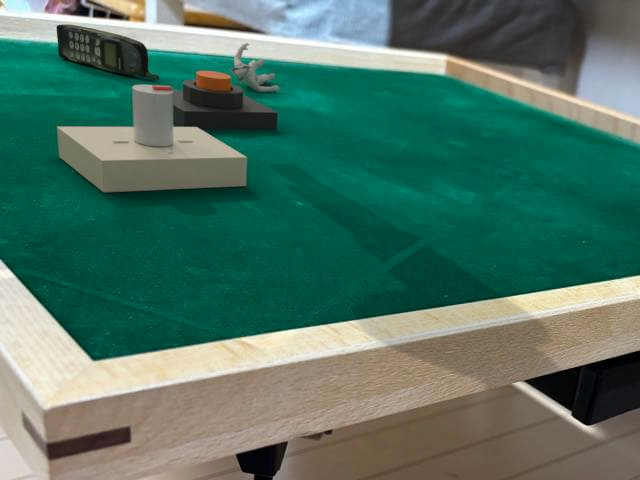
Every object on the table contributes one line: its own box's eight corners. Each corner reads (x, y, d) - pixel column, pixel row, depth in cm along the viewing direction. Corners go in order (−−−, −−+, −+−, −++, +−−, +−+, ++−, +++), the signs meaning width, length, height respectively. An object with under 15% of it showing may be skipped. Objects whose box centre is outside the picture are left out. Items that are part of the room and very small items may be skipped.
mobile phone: (51, 21, 120) (147, 43, 117) (67, 21, 122) (161, 42, 120) (55, 60, 122) (148, 82, 120) (70, 58, 125) (162, 80, 122)
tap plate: (103, 192, 80) (101, 158, 78) (58, 157, 86) (56, 124, 85) (246, 186, 89) (247, 155, 88) (196, 154, 96) (197, 125, 94)
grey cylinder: (143, 147, 84) (141, 90, 82) (127, 136, 86) (125, 80, 84) (180, 146, 87) (179, 91, 84) (163, 136, 89) (163, 81, 86)
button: (205, 93, 106) (205, 78, 105) (190, 84, 108) (190, 70, 107) (236, 94, 108) (237, 79, 108) (221, 85, 111) (221, 71, 110)
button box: (184, 130, 103) (184, 95, 101) (148, 107, 109) (147, 74, 107) (277, 130, 111) (278, 97, 109) (238, 109, 117) (239, 78, 115)
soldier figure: (288, 93, 136) (279, 80, 124) (263, 111, 136) (252, 100, 124) (255, 48, 134) (243, 32, 122) (229, 67, 134) (215, 52, 122)
